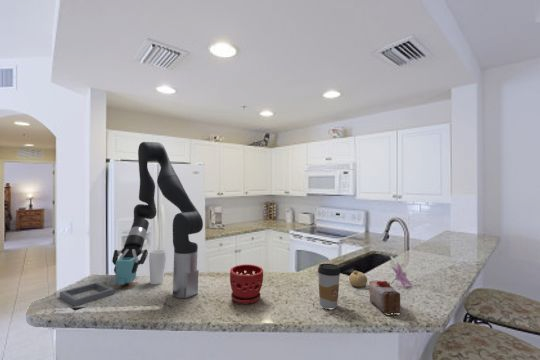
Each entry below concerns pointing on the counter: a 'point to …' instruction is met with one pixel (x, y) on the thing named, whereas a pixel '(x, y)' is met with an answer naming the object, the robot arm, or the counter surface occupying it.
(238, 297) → the plant pot
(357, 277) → the onion
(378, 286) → the food item
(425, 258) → the counter surface
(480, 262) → the counter surface
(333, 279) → the coffee cup
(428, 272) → the counter surface
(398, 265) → the lily
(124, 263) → the teal sleeve
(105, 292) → the charcoal tray
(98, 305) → the counter surface
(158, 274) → the drinking glass
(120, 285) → the square wooden base
